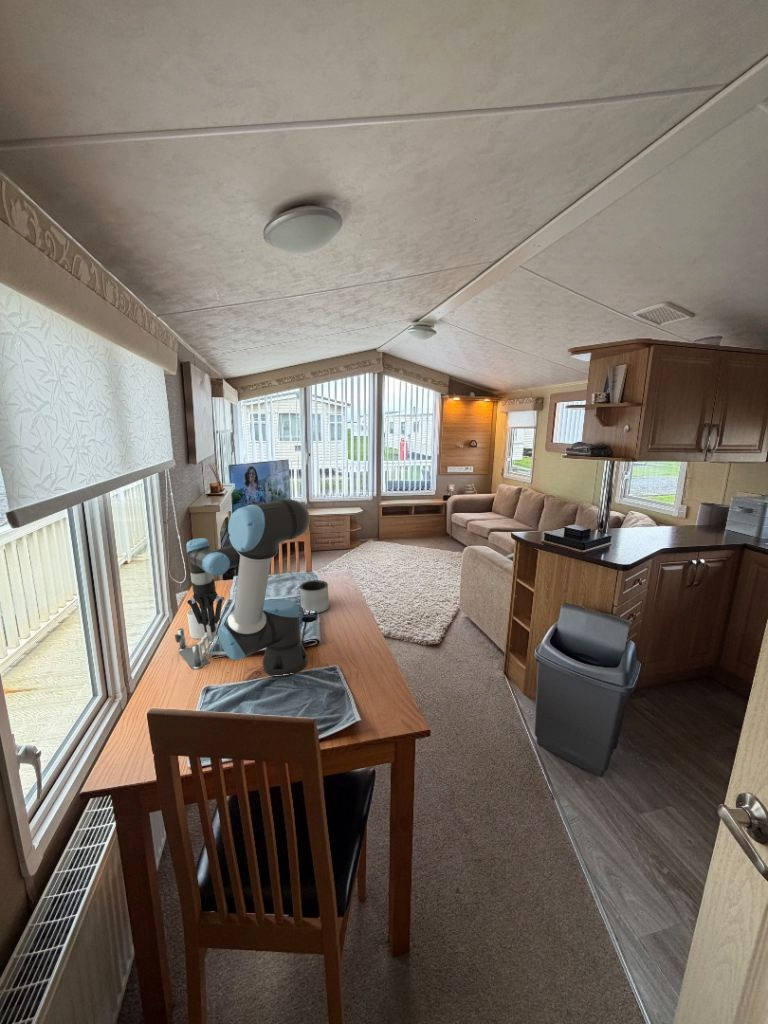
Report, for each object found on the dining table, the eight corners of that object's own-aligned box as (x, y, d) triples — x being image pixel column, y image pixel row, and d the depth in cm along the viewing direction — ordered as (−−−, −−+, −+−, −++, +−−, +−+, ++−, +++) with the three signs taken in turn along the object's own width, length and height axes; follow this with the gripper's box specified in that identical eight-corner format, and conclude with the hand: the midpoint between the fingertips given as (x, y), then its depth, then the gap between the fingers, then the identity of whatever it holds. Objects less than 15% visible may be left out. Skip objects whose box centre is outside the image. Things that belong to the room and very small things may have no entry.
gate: (201, 661, 150) (199, 644, 148) (198, 661, 150) (196, 644, 148) (213, 643, 161) (211, 627, 160) (211, 643, 161) (209, 627, 160)
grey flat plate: (210, 662, 150) (210, 661, 150) (192, 669, 146) (192, 668, 146) (195, 646, 161) (195, 645, 161) (178, 652, 157) (178, 651, 157)
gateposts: (204, 666, 147) (201, 646, 146) (193, 671, 145) (190, 650, 143) (186, 645, 161) (183, 626, 160) (175, 649, 159) (172, 630, 157)
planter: (304, 616, 183) (302, 592, 180) (298, 605, 194) (297, 582, 192) (332, 611, 187) (331, 588, 185) (325, 600, 199) (324, 578, 196)
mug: (224, 631, 172) (221, 608, 169) (211, 641, 164) (208, 617, 162) (199, 628, 175) (196, 605, 172) (185, 638, 167) (182, 614, 165)
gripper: (224, 576, 155) (232, 633, 161) (190, 577, 156) (199, 634, 161) (216, 584, 148) (225, 644, 154) (180, 585, 148) (190, 645, 154)
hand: (211, 639), depth 158 cm, fingers closed
